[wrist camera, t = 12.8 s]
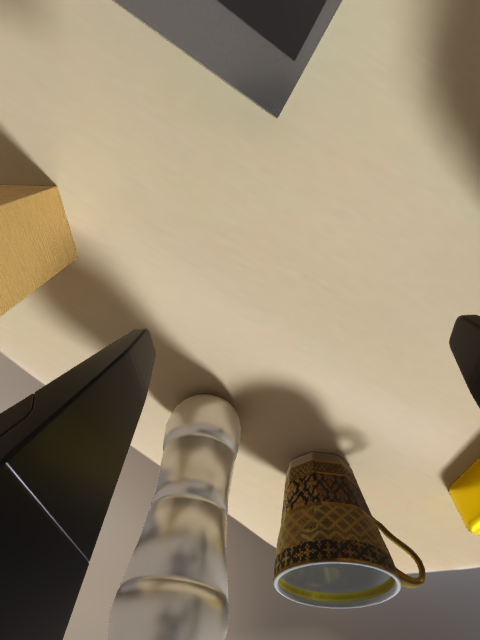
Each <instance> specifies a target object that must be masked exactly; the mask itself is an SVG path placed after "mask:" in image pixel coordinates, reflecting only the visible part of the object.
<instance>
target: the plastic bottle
mask: <svg viewBox="0 0 480 640" xmlns="http://www.w3.org/2000/svg"><path fill="white" fill-rule="evenodd" d="M240 440H241V427H240V420H239V416H238V414H237V412H236V411H235V409H234V408H233V407H232V406H231V405H230V403H228V402H227V401H226V400H224V399H222V398H220V397H217V396H214V395H207V394H201V395H195V396H191V397H189V398H187V399H185V400H184V401H182V402H181V403H180V404H178V405H177V406H176V407H175V408H174V410H173V412H172V414H171V416H170V418H169V420H168V422H167V424H166V429H165V436H164V442H163V457H162V462H161V467H160V472H159V477H158V482H157V487H156V491H155V494H154V497H153V500H152V503H151V508H150V510H149V512H148V515H147V518H146V521H145V524H144V527H143V530H142V533H141V536H140V538H139V541H138V544H137V545H136V548H135V550H134V553H133V555H132V557H131V560H130V562H129V564H128V567H127V570H126V572H125V574H124V576H123V579H122V581H121V584H120V588H119V589H118V591H117V593H116V596H115V599H114V602H113V605H112V607H111V610H110V617H109V628H108V640H225V638H226V634H227V630H228V607H229V606H228V605H229V604H228V602H227V600H228V580H227V555H226V537H227V519H226V517H227V511H228V497H229V491H230V485H231V479H232V473H233V467H234V462H235V459H236V456H237V453H238V449H239V444H240Z"/></svg>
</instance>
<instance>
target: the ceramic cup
mask: <svg viewBox="0 0 480 640" xmlns="http://www.w3.org/2000/svg"><path fill="white" fill-rule="evenodd" d="M378 529H380V530H381V531H382V532H383V533H384V534H385V536H386V537H388V538H389V539H390V540H391V541H392V542H393V543H395V544H396V545H397V546H399V547H400V548H401V549H403V550H404V551H405V552H407V553H408V554H409V555H410V556H411V557H412V558H413V559H414V561H415V562H416V564H417V566H418V568H419V577H418V578H412V577H410V576H408V575H406V574H404V573H403V572H401V571H400V570H398V569H397V568H396V567H395V565H394V562H393V560H392V557H391V555H390V553H389V551H388V549H387V547H386V545H385V543H384V540H383V538H382V536H381V534H380V532H379V530H378ZM424 580H425V568H424V565H423V563H422V561H421V560H420V558H419V557H418V555H417V554H416V553H415V552H414V551H413V550H412V549H411V548H410V547H408V546H407V545H406V544H404V543H403V542H402V541H400V540H399V539H398V538H396V537H395V536H394V535H393V534H391V533H390V532H389V531H388V530H387V529H386V528H385V527H384V526H383V525H382V524H381V523H380V522H378V521H377V520H376V519H375V518H374V517H373V516H372V515H371V513H370V511H369V508H368V506H367V504H366V502H365V499H364V497H363V495H362V493H361V491H360V488H359V486H358V483H357V481H356V479H355V477H354V474H353V471H352V469H351V468H350V466H349V465H348V464H347V463H346V462H345V461H344V460H342V459H341V458H340V457H339V456H338V455H335V454H327V453H318V452H310V453H308V454H305V455H303V456H300V457H298V458H295V459H293V460H291V461H290V464H289V467H288V470H287V474H286V482H285V491H284V501H283V510H282V519H281V528H280V532H279V537H278V542H277V549H276V558H275V568H274V581H273V582H274V586H275V589H276V590H277V591H278V592H279V593H280V594H281V595H283V596H285V597H286V598H288V599H290V600H293V601H295V602H298V603H302V604H306V605H310V606H316V607H325V608H356V607H363V606H370V605H374V604H378V603H381V602H384V601H386V600H388V599H390V598H392V597H394V596H395V595H396V594H397V593H398V592H399V591H400V589H401V585H402V586H404V587H407V588H416V587H419V586H421V585H422V584H423V583H424Z"/></svg>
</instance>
